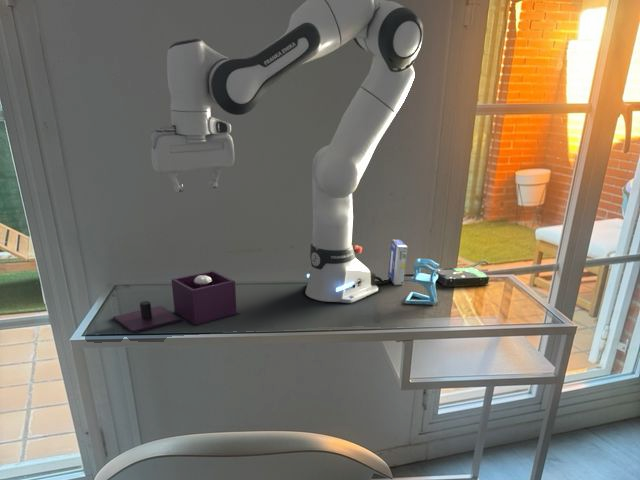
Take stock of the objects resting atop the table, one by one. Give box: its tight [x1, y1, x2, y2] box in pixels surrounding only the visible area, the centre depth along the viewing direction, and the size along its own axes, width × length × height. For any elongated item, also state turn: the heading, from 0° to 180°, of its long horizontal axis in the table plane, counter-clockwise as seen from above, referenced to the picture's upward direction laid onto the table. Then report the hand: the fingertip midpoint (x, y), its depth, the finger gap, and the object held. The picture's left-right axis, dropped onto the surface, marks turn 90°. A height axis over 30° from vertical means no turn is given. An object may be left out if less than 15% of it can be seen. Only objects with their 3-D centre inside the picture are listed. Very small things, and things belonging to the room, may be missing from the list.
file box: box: [171, 270, 237, 325], centre depth 154 cm, size 13×11×9 cm
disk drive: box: [436, 266, 490, 288], centre depth 186 cm, size 10×3×15 cm
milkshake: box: [194, 273, 214, 289], centre depth 153 cm, size 4×5×10 cm
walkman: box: [387, 239, 408, 286], centre depth 181 cm, size 8×3×12 cm, turn 10°
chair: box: [404, 258, 440, 306], centre depth 167 cm, size 8×8×12 cm
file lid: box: [112, 300, 182, 334], centre depth 150 cm, size 13×11×5 cm
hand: (196, 189), depth 140 cm, fingers open, 8 cm apart
